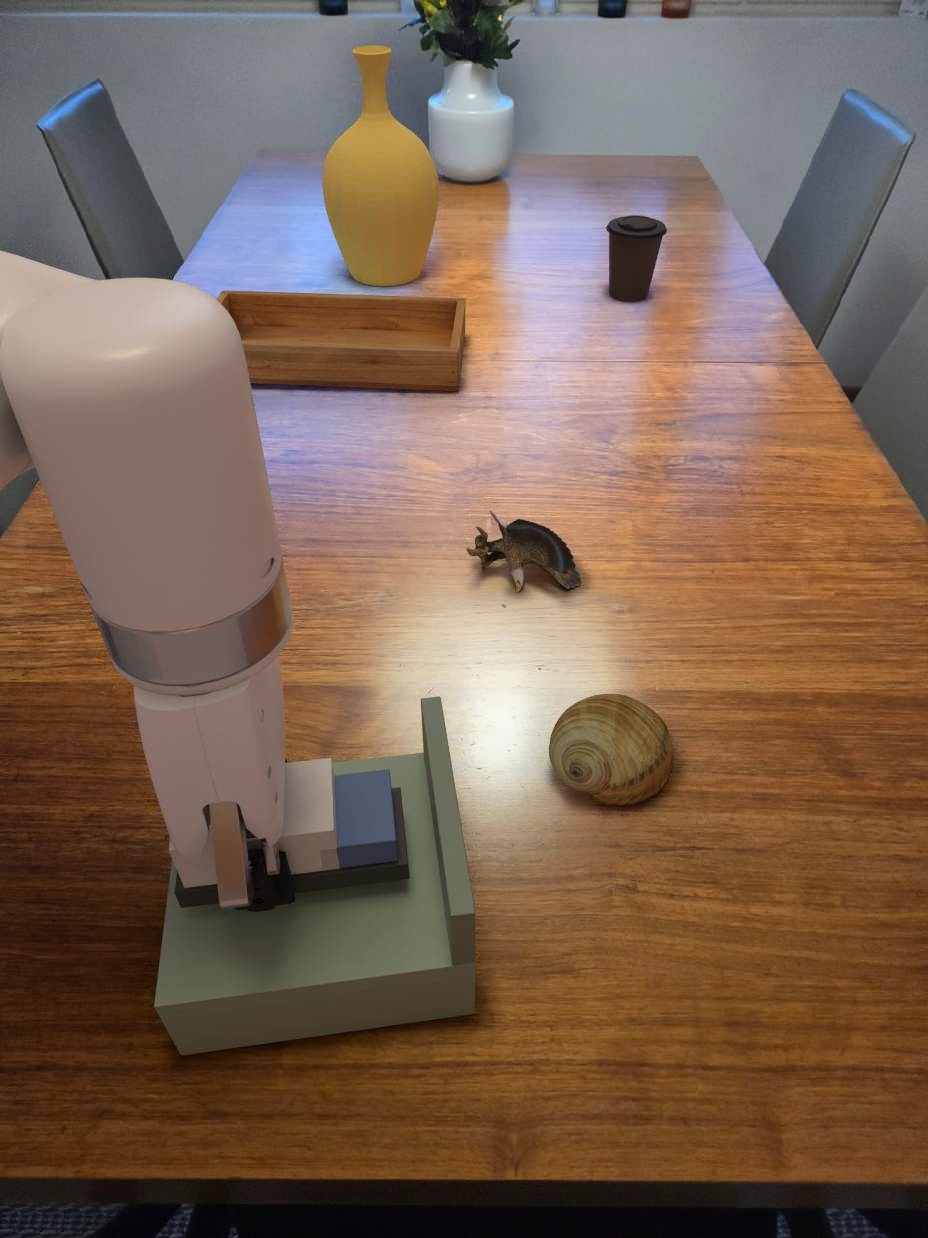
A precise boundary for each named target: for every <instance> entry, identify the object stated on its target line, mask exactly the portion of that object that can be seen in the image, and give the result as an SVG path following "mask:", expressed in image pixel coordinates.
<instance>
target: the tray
mask: <svg viewBox="0 0 928 1238" xmlns="http://www.w3.org/2000/svg"><path fill="white" fill-rule="evenodd" d="M215 299H216V300H217V301H218V302H219V303H220V304H221V305H222V306H223V307H224V308H225V309H226V310H227V311H228V313H229V314H230V316H231V317H232V319H233V320H234V322H235V324H236V327H237V329H238V331H239V334H240V337H241V341H242V345H243V349H244V353H245V358H246V363H247V368H248V373H249V379H250V384H266V385H291V386H292V385H293V386H294V385H296V386H321V387H322V386H324V387H349V388H369V389H370V388H372V389H374V388H375V389H399V390H400V389H402V390H422V391H423V390H425V391H451V392H458V391H459V388H460V387H459V386H460V379H461V372H462V363H463V356H464V355H463V354H464V347H465V340H466V339H465V337H466V305H467V303H466V298H464V297H443V296H442V297H439V296H409V295H406V296H405V295H381V294H380V295H379V294H377V295H376V294H374V295H373V294H351V293H349V294H348V293H347V294H346V293H319V292H318V293H317V292H314V293H313V292H288V291H287V292H286V291H257V290H221V292H220V293H219V295H218V296H217V297H216V298H215Z"/></svg>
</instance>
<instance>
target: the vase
mask: <svg viewBox="0 0 928 1238" xmlns="http://www.w3.org/2000/svg"><path fill="white" fill-rule="evenodd" d="M352 54H353V57H354V59H355V62H356V65H357V66H358V69H359V72H360V75H361V79H362V80H361V81H362V88H363V99H362V101H363V102H362V103H363V104H362V111H361V113H360V116H359V118H357V120H356V121H355V122H354V123H353V124H352V125H351V126H350V127H348V129H346V130H345V131H344V132H343V133H341V135H340V136H339V137H337V139H336V140H335V142H334V143H333V144H332V145H331V147H330V148H329V151H328V152H327V155H326V157H325V160H324V162H323V168H322V178H321V179H322V181H321V182H322V184H321V185H322V193H323V194H322V195H323V202H324V207H325V211H326V215H327V218H328V222H329V225H330V228H331V231H332V235H333V236H334V239H335V241H336V244H337V247H338V249H339V251H340V254H341V256H342V259H343V261H344V263H345V265H346V267H347V270H348V272H349V273H350V276H351V278H353V280H355V281H356V282H358V283H361V284H363V285H367V286H372V287H396V286H401V285H405V284H408V283H410V282H413V281H415V280H417V279H418V278H420V275H421V274H422V271H423V268H424V264H425V261H426V259H427V256H428V252H429V249H430V246H431V241H432V238H433V234H434V230H435V225H436V220H437V216H438V215H437V214H438V208H439V201H440V184H439V176H438V171H437V167H436V164H435V162H434V160H433V158H432V155H431V153H430V151H429V149H428V148H427V146H426V145H425V143H424V142H423V141H422V139H421V138H420V137H419V136H417V134H415V133H414V132H413V131H412V130H411V129H409V128H407V127H406V126H405V125H403V124H402V123H401V122H400V121H398V120H397V119H396V118H395V117H394V116H393V115H392V113H391V111H390V108H389V104H388V99H387V89H386V77H387V71H388V67H389V63H390V59H391V55H392V48H390V47H388V46H385V45H377V44H376V45H375V44H374V45H362V46H357V47H354V48H353V49H352Z"/></svg>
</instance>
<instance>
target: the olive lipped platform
mask: <svg viewBox="0 0 928 1238" xmlns="http://www.w3.org/2000/svg"><path fill="white" fill-rule="evenodd" d="M443 708H444V707H443V702H442V697H441V696H440V695H439V696H430V697H422V698H420V713H421V732H422V748H423V750H422V751H423V752H417V753H405V754H399V755H389V756H381V757H379V756H378V757H371V758H363V759H354V760H344V761H335V762H332V764H333V770H334V776H335V775H343V774H352V773H361V772H369V771H378V770H387V769H389V770H390V778H391V787H392V788H397V787H400V788H401V797H402V807H403V816H404V826H405V835H406V845H407V854H408V864H409V875H410V878H409V879H404V880H396V881H389V882H381V883H373V884H365V885H357V886H350V887H342V888H334V889H326V890H318V891H311V892H303V893H295V901H294V902H293V903H291V904H284V905H277V906H276V907H275V908H273V909H271V910H268V911H261V912H251V911H248V910H246V909H245V910H236V909H234V908H227V909H221V907H220V903H217V904H209V905H201V906H193V907H186V908H181V907H180V905H179V903H178V900H177V898H176V896H175V893H174V892H175V883H176V875H177V869H176V866H175V864H174V862H173V859H172V858H171V865H170V873H169V882H168V888H167V897H166V906H165V913H164V921H163V930H162V937H161V938H162V940H161V947H160V954H159V961H158V962H159V963H158V971H157V978H156V979H157V980H156V988H155V996H154V1003H153V1008H154V1009H155V1011H156V1013H157V1015H158V1018H159V1019H160V1020H161V1022H162V1024H163V1026H164V1027H165V1029H166V1031H167V1033H168V1034H169V1037H170V1038H171V1040H172V1042H173V1044H174V1046H175V1048H176V1050H177V1051H178V1053H179V1055H180V1056H187V1055H195V1054H203V1053H208V1052H215V1051H222V1050H223V1051H224V1050H230V1049H231V1050H232V1049H238V1048H243V1047H251V1046H258V1045H265V1044H270V1043H271V1044H272V1043H278V1042H286V1041H293V1040H300V1039H301V1040H302V1039H307V1038H313V1037H314V1038H315V1037H321V1036H328V1035H329V1036H330V1035H334V1034H341V1033H350V1032H356V1031H363V1030H370V1029H378V1028H386V1027H392V1026H399V1025H405V1024H412V1023H420V1022H426V1021H427V1022H428V1021H435V1020H441V1019H448V1018H454V1017H455V1018H456V1017H462V1016H469V1015H474V1014H475V1011H476V921H477V920H476V919H477V918H476V916H477V915H476V914H477V912H476V906H475V899H474V894H473V887H472V882H471V881H472V880H471V874H470V869H469V862H468V857H467V851H466V844H465V837H464V832H463V827H462V826H463V825H462V819H461V815H460V814H461V813H460V808H459V802H458V801H459V799H458V794H457V788H456V783H455V777H454V776H455V775H454V771H453V764H452V757H451V752H450V751H451V750H450V745H449V740H448V733H447V728H446V727H447V726H446V721H445V714H444V709H443Z"/></svg>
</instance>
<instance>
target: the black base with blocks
mask: <svg viewBox="0 0 928 1238" xmlns="http://www.w3.org/2000/svg"><path fill="white" fill-rule="evenodd" d="M332 763H333V759H332V758H331V757H326V758H318V759H317V758H316V759H309V760H300V761H293V762H291V761H290V762H287V763H285V783H284V816H283V831H282V836H281V837H280V839H279V840H278V841H277V845H278V851H283V852H286V856H287V860H288V864H289V868H290V871H291V875H292V879H293V883H294V887H295V893H303V892H311V891H318V890H326V889H334V888H342V887H350V886H357V885H365V884H373V883H381V882H389V881H396V880H404V879H409V878H410V875H409V864H408V854H407V845H406V835H405V826H404V816H403V807H402V797H401V788H400V787H397V788H392V787H391V778H390V770H389V769H387V770H378V771H369V772H361V773H352V774H343V775H335V776H334V770H333V764H332ZM246 843H247V850H250V849H258V848H262V843H261V839H258V838H249V839H246ZM168 853H169V854H170V857H171V860H172V859H173V862H174V864H175V866H176V869H177V875H176V883H175V892H174V893H175V896H176V898H177V900H178V903H179V905H180V907H181V908H186V907H193V906H201V905H209V904H217V903H220V902H219V894H218V885H217V876H216V867H215V858H214V850H213V845H212V840H211V835H210V832H209V836H208V839H207V842H206V845H205V848H204V850H203V853H202V855H201V857H192V858H183V857H182V856H180V855H179V854H178V853H177V851H176V850H175V848H174V847H173V844H172V842H171V839H170V838H169V844H168Z"/></svg>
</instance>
